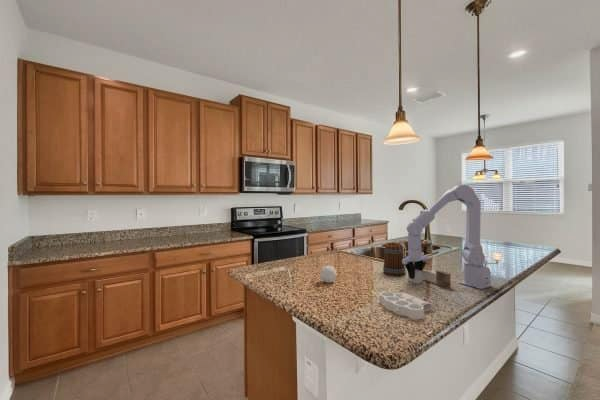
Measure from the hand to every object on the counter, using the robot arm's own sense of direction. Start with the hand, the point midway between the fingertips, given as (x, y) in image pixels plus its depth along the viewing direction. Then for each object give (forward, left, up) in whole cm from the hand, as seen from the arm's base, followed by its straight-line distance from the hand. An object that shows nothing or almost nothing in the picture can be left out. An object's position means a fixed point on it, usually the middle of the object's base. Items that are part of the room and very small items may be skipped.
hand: (415, 277), depth 124 cm
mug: (+16, -5, -2) cm, 17 cm away
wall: (-11, -4, -2) cm, 12 cm away
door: (-2, -6, -1) cm, 6 cm away
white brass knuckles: (-18, +28, -2) cm, 34 cm away
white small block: (0, 0, -2) cm, 2 cm away
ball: (+20, +34, -2) cm, 40 cm away
